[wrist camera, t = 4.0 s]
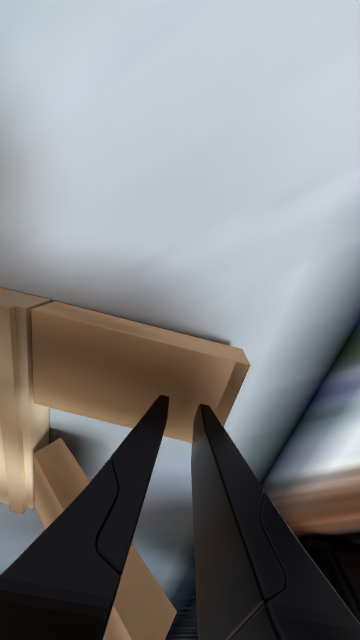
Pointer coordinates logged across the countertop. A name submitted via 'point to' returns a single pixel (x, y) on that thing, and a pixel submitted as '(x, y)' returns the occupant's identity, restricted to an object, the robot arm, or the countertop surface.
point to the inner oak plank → (137, 581)
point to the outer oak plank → (129, 369)
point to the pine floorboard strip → (19, 401)
